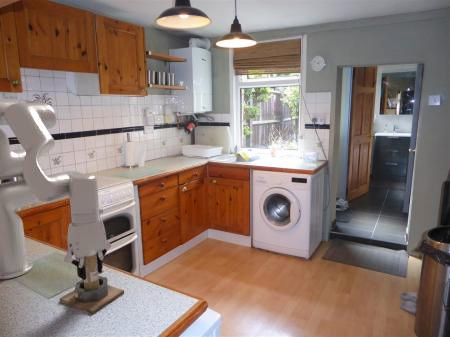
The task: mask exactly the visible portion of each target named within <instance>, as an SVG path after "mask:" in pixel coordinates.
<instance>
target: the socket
mask: <svg viewBox="0 0 450 337" xmlns="http://www.w3.org/2000/svg"><path fill="white" fill-rule="evenodd" d="M108 285H109V282H108V277H107V276H101V275H99V287H97V288H95V289H89V290H84V281H83V279H80V280H79V281H77V282H76V283H75V286H74V290H75V298H76V301H79V302H82V303H90V302H96V301H99V300H101V299H102V298H104V297H105V296H107V295H108Z"/></svg>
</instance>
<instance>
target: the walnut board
mask: <svg viewBox="0 0 450 337" xmlns="http://www.w3.org/2000/svg"><path fill="white" fill-rule="evenodd" d="M124 294H125V289H121V288H118V287H115V286H112V285H109V284H108V295H107V296H105V297H104V298H102V299H101V300H99V301H96V302H90V303H82V302H79V301H76V298H75V289H74V290H71V291H70V292H68V293H66V294H65V295H63V296H61V297H59V302H61V303H63V304H65V305H68V306H71V307H73V308H76V309H79V310H82V311H84V312H85V313H89V314H91V315H95V314H96V313H97V312H99V311H100V310H101V309H104V308H105V307H106V306H107V305H110V303H112V302H114V301H115V300H117V299H118V298H119V297H121V296H123V295H124Z"/></svg>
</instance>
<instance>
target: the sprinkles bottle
mask: <svg viewBox="0 0 450 337" xmlns="http://www.w3.org/2000/svg"><path fill="white" fill-rule="evenodd" d="M83 266H84V267H85V271H86V279H85V280H83V279H82V280H83V281H84V290H89V289H95V288H97V287H99V276H100V275H99V273H98V264H97V253H96V252H95V250H91V251H90V252H89V255H88V256H86V257H84V263H83Z"/></svg>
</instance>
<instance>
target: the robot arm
mask: <svg viewBox="0 0 450 337" xmlns="http://www.w3.org/2000/svg"><path fill="white" fill-rule="evenodd" d="M56 114H57V113H56V111H55V110H54V108H53V107H52V106H51V105H49V104H48V103H45V102H39V101H35V100H29V99H22V98H21V99H19V98H18V99H17V98H0V126H8V127H9V128H10V129H11V131H12V132H13V134H14V136H15V138H17V140H18V142H19V144H20V146H21V147H22V149H11V146H10V140H9V137H8V135H7V134H6V133H5V132H4V130H3V129H1V128H0V180H1V181H2V180H9V179H14V178H17V180H14V181H13V180H12V181H8V182H7V181H6V182H3V183H0V280H9V279H14V278H16V277H17V278H18V277H19V276H20V277H21V276H23V275H25V274H27V273H28V272H30V271H31V270H32V268H33V267H34V264H33V262H32V261H30V260H28V255H27V248H26V239H25V231H24V223H23V219H22V218H21V217H20V216H19V215H18V214H17V213H16V212H15V211H14V210H17V209H20V208H25V207H27V206H31V205H34V204H35V203H37V202H38V201H41V202H42V203H52V202H57V201H59V200H63V199H67V198H69V202H70V203H69V205H70V213H71V222H70V223H69V225H68V229H67V252H66V254H65V256H64V258H63V261H64V262H65V263H67V264H72V265H73V266H75V267H76V273H77V277H78V278H79V279H80V280H85V279H86V271H85V267H84V266H83V263H84V257H86V256H88V255H89V252H90V251H91V250H95V252H96V253H97V264H98V274H102V273H103V261H104V257H105V255H106V254H107V252H108V251H109V250H110V249H111V247H112V244H111V243H110V242H109V241H108V240H107V235H106V229H105V225H104V222H103V219H102V218H101V215H102V214H104V210H103V208H101V209H100V200H99V190H98V179H97V176H95V175H94V174H90V173H86V174H85V173H82V172H79V171H75V170H70V171H65V172H64V171H63V172H58V173H54V174H53V173H52V174H48V175H46V174H45V173H44V172H43V170H42V168H41V167H40V165H39V159H40V158H41V157H43V156H45V155H46V154H48V153H49V152H50V151H51V150H52V149H53V148H54V147H55V144H56V142H55V141H56V140H55V139H54V137H53V136H52V135H51V133H50V131H49V129H52V128H53V127H55V126H56V124H57V119H58V118H57V115H56ZM73 256H74V258H75V259H74V258H72V257H73Z"/></svg>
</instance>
